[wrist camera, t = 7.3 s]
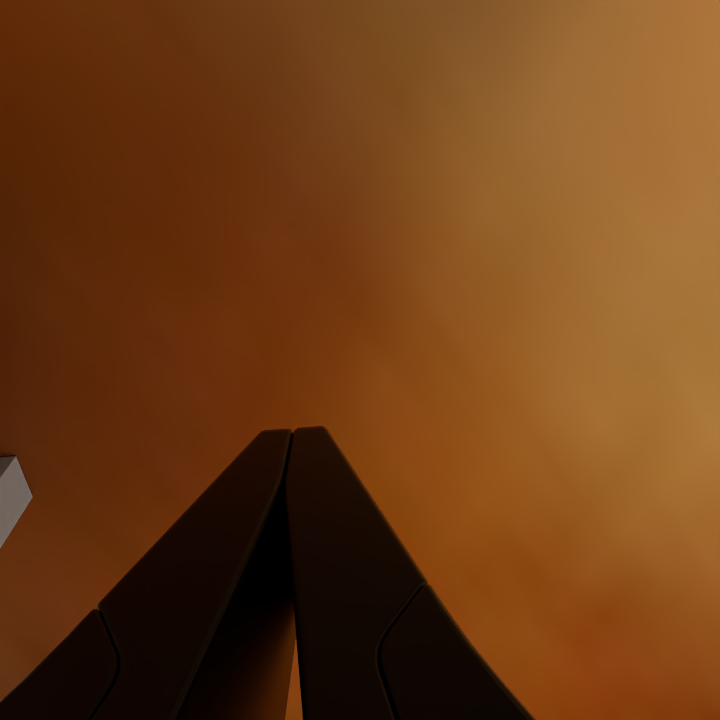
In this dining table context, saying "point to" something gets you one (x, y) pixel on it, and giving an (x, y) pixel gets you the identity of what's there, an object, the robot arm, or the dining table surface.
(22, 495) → the grey u-shaped frame
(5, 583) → the dining table surface
